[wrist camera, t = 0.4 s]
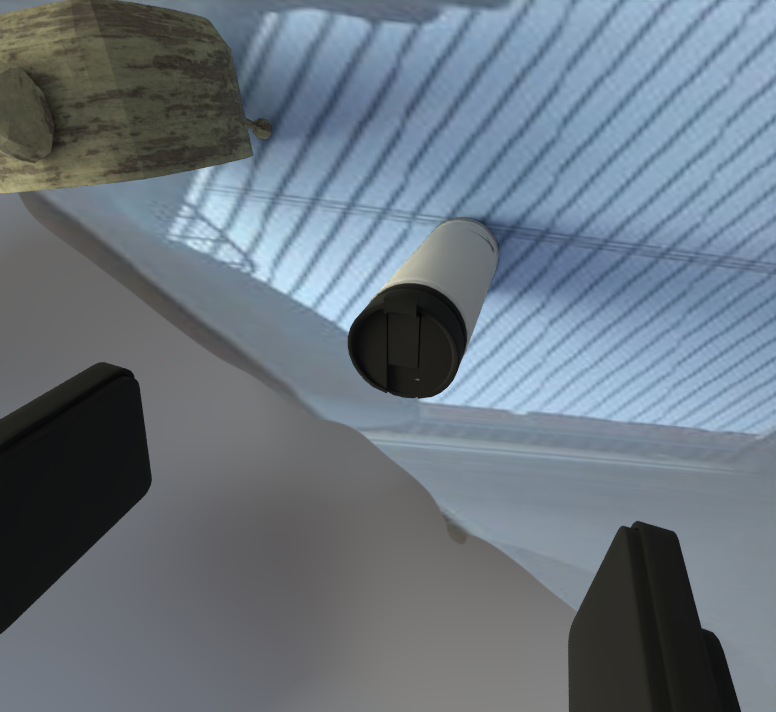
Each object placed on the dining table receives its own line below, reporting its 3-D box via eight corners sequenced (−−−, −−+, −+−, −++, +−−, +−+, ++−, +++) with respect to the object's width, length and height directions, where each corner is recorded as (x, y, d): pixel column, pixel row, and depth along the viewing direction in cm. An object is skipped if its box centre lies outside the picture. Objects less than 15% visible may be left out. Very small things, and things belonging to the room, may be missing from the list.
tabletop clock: (154, 162, 48) (-165, 220, 27) (122, 52, 44) (-279, 19, 23) (291, 148, 44) (37, 204, 23) (269, 24, 40) (-63, -48, 19)
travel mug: (504, 215, 41) (463, 304, 24) (494, 292, 44) (453, 419, 27) (428, 209, 43) (340, 289, 26) (424, 284, 46) (343, 400, 29)
